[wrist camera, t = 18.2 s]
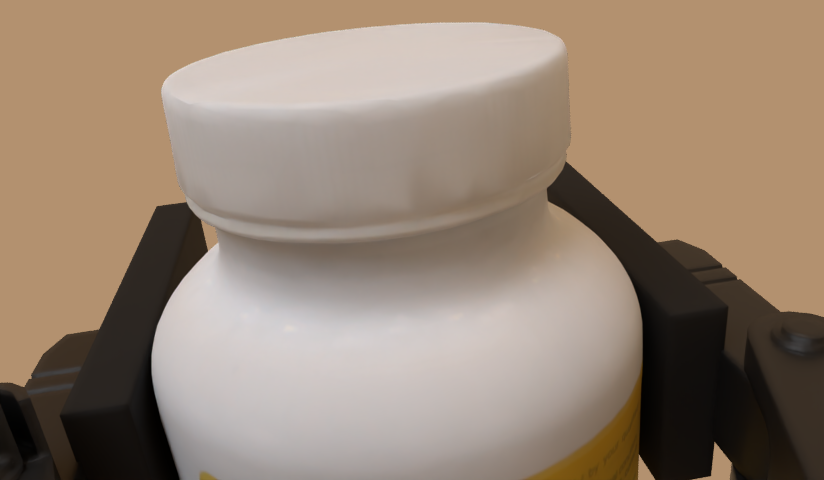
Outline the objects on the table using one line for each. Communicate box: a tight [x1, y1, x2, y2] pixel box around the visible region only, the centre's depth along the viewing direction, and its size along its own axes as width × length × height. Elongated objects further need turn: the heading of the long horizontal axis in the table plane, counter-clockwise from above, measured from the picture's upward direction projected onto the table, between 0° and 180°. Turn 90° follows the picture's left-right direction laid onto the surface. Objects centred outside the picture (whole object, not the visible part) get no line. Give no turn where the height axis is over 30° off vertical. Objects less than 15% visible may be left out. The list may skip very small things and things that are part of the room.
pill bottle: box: [152, 23, 643, 480], centre depth 11 cm, size 6×6×12 cm
